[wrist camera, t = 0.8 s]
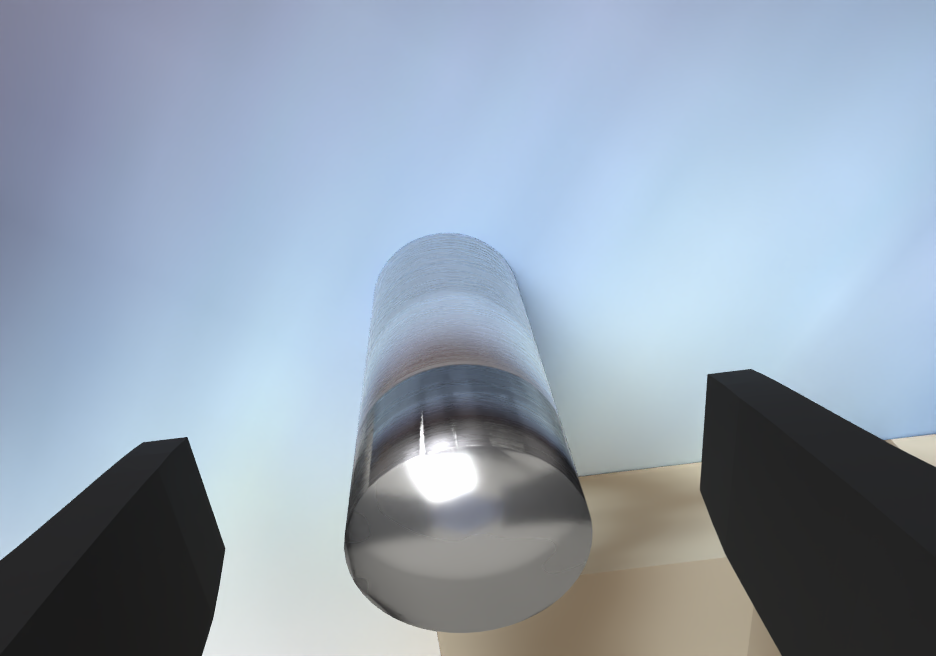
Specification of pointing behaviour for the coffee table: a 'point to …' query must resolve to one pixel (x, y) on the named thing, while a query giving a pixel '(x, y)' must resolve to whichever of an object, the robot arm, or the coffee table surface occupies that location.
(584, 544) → the metal cylinder
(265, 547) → the coffee table surface
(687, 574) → the socket block
